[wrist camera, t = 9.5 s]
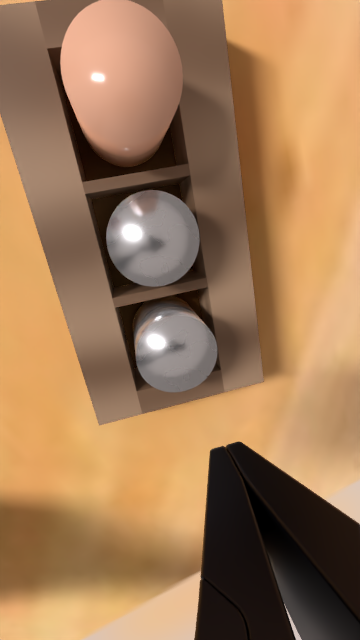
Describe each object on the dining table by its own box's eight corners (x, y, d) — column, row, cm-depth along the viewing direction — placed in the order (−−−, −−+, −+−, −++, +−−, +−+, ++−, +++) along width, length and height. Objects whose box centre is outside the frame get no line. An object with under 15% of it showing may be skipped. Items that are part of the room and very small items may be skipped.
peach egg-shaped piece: (172, 159, 16) (191, 132, 11) (92, 173, 15) (80, 150, 11) (155, 65, 14) (170, -8, 10) (68, 76, 14) (43, 5, 9)
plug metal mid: (186, 264, 18) (206, 276, 14) (120, 278, 18) (119, 295, 14) (173, 194, 17) (191, 182, 13) (102, 207, 17) (95, 199, 12)
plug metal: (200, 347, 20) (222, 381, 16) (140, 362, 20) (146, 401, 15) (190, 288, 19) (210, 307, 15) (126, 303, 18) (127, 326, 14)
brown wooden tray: (245, 361, 22) (263, 381, 19) (102, 397, 20) (99, 425, 18) (202, 26, 16) (220, -18, 13) (-3, 51, 14) (-34, 8, 12)
